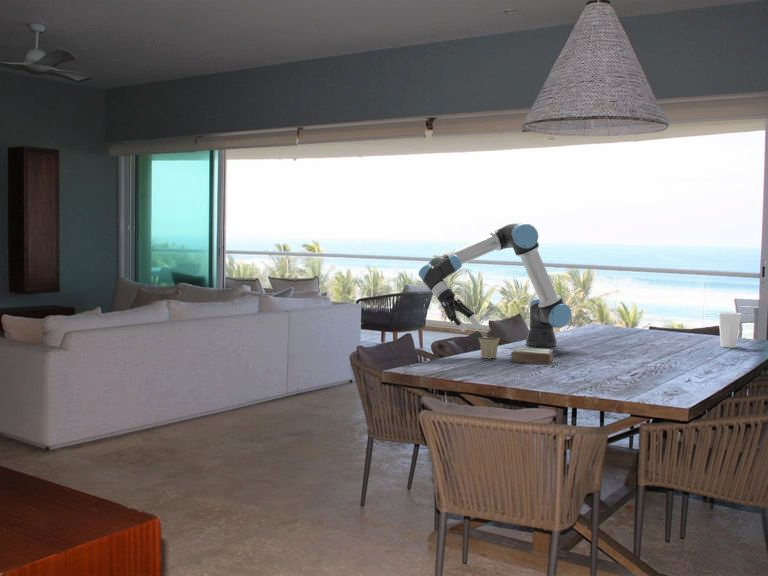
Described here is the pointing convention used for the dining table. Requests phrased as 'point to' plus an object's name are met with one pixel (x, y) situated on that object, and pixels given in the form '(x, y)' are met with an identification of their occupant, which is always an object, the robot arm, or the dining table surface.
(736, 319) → the cup
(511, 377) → the dining table surface
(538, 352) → the brown flat square box
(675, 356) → the dining table surface
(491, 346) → the flower pot
